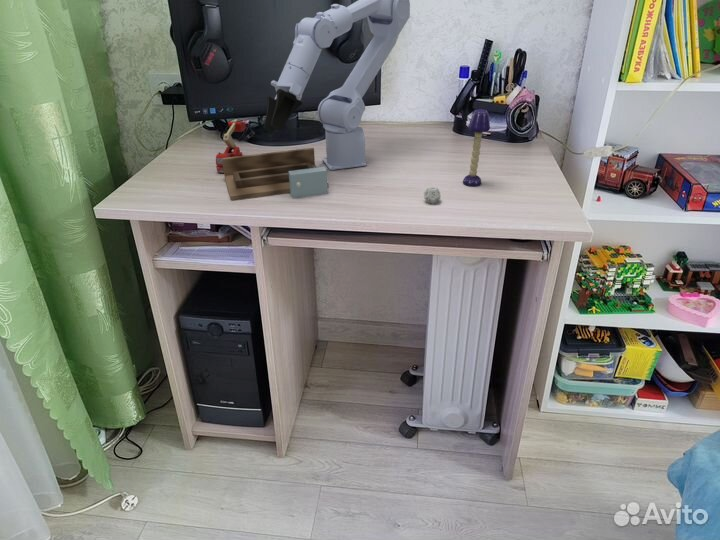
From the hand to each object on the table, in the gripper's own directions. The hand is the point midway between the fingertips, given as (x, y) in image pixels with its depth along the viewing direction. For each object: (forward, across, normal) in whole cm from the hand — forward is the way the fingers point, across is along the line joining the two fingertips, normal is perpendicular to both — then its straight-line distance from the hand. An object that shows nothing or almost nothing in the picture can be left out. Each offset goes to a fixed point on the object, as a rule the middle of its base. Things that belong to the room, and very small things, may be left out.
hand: (271, 129), depth 117 cm
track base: (+9, -8, +7) cm, 14 cm away
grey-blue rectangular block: (+9, +1, +13) cm, 16 cm away
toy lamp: (-9, +10, +45) cm, 47 cm away
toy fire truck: (+9, -24, -1) cm, 26 cm away
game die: (0, +15, +35) cm, 38 cm away
